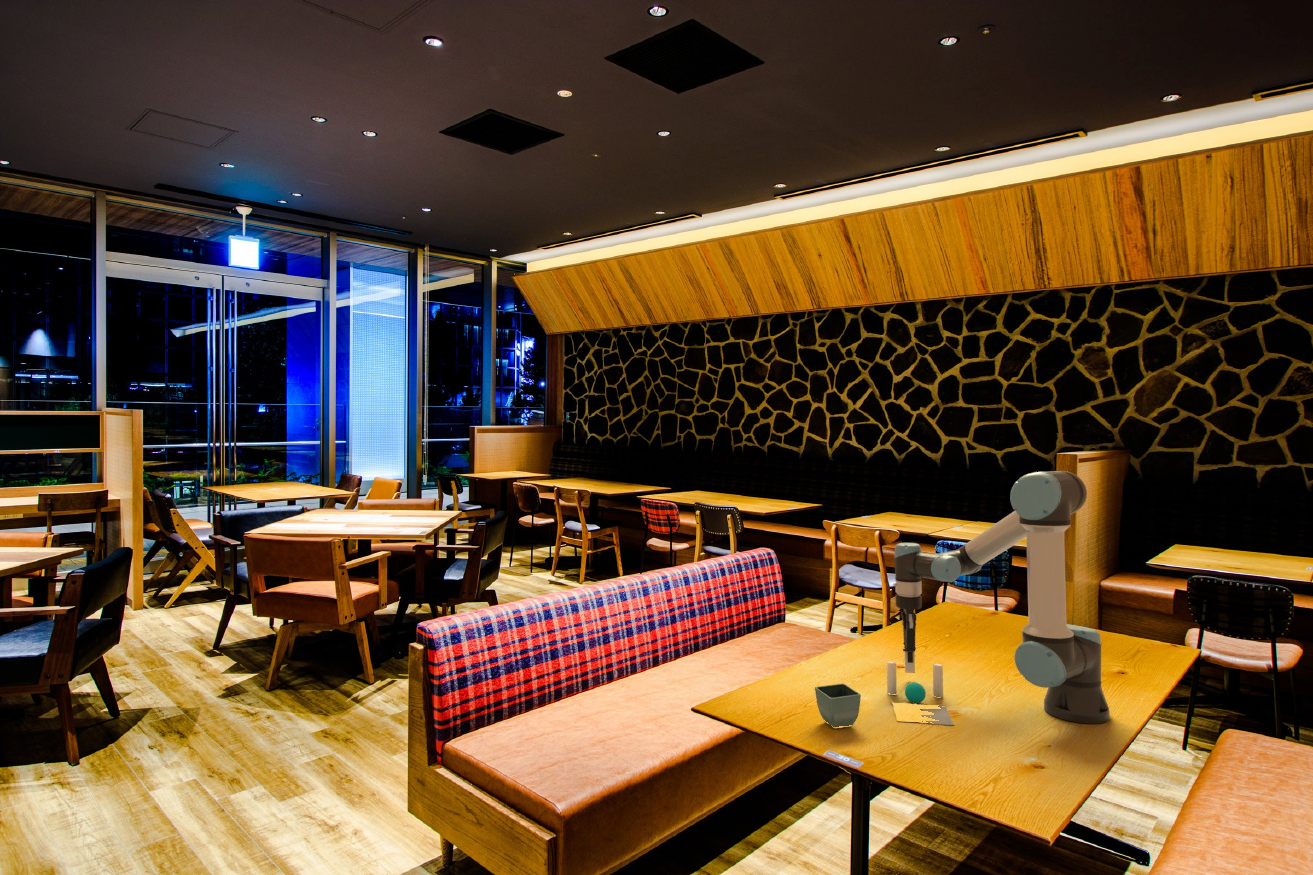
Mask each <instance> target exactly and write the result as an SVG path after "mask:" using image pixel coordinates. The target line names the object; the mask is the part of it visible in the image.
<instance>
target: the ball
mask: <svg viewBox="0 0 1313 875" xmlns="http://www.w3.org/2000/svg"><path fill="white" fill-rule="evenodd" d="M926 693H927V692H926V689H925V687H924V685H922V684H921V683H918V682H917V681H916V682H915V681H912V682H910V683H908V684H907V685H906V686H905V688H904V696H905V697H906V699H907V700H908V701H909V702H910V701H911V702H910V703H913V702H914V703H919V704H921V703H923V701H924V700H925V698H926V696H927V694H926Z"/></svg>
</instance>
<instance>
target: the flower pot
mask: <svg viewBox="0 0 1313 875" xmlns="http://www.w3.org/2000/svg"><path fill="white" fill-rule="evenodd" d="M814 691H815V697H816V704H817V705H816V706H817V709H818V711H819V714H820V716H821V718H822V719H823V721H824V720H825V721H826V722H828V723H829V724H830V725H832V726H833V727H839V726H849V725H852V726H854V725H855V724H854V723H855V722H856V721H857V719H858V716H859V713H860V708H861V706H860V705H861V697H862V694H861V693H860V692H858V691H856V690H855V689H853V688H852V687H850V686H848V685H847V684H846V683H836V684H835V683H834V684H828V685H821V686H815V687H814ZM825 721H824V722H825ZM826 722H825V723H826ZM830 725H829V726H830Z"/></svg>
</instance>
